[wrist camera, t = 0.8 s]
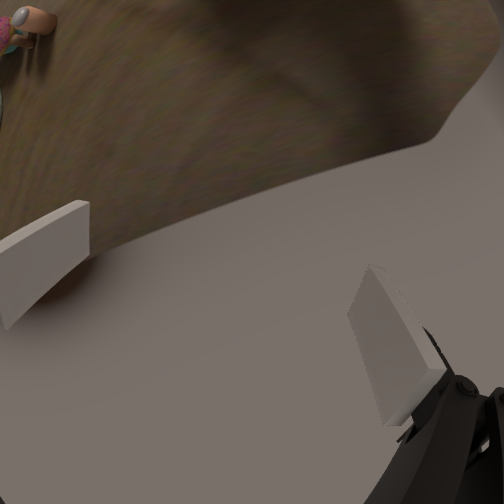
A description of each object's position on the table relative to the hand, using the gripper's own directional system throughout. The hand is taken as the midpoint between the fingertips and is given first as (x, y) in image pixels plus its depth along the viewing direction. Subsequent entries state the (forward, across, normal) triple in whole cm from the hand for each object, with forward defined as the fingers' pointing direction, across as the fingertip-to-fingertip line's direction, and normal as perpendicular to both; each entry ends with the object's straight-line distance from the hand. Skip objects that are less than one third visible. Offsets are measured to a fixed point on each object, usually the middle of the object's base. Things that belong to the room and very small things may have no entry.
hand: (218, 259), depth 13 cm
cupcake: (+27, -48, +19) cm, 58 cm away
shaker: (+26, -39, +21) cm, 51 cm away
